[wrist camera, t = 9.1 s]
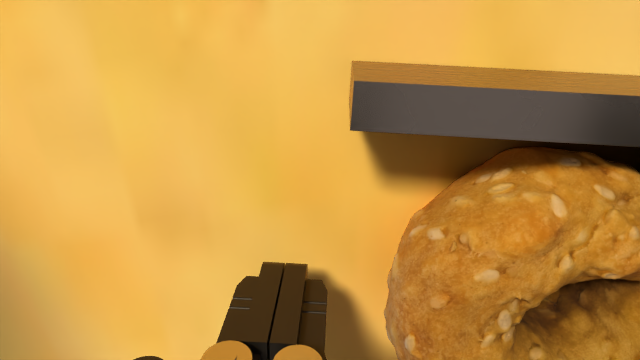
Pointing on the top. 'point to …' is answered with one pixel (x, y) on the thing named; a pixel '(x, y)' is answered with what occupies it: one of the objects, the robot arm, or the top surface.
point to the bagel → (522, 263)
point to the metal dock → (495, 103)
